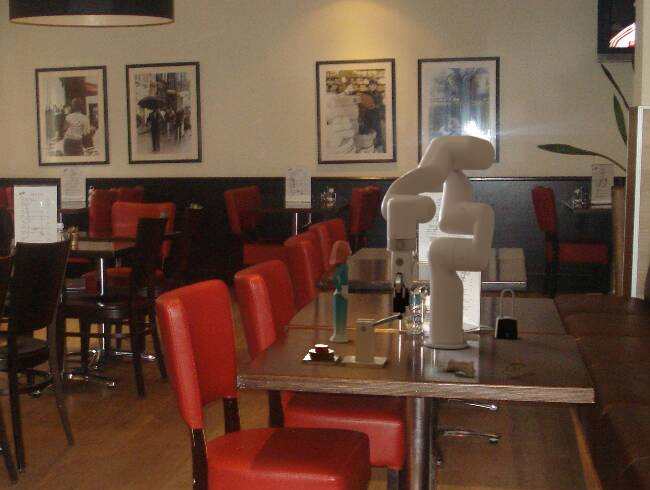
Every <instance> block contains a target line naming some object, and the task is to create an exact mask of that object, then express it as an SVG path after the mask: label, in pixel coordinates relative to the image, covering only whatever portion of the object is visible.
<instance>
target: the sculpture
mask: <svg viewBox="0 0 650 490" xmlns="http://www.w3.org/2000/svg"><path fill="white" fill-rule="evenodd" d="M352 253H353V251H352V250H351V247H350V243H349V242H347V241H344V240H337V241H335V242H334V243H333V245H332V248H331V254H330V258H329V262H328V264H329V265H330V266H332V267H333V268H337V270H336V272H335V273H334V274H333V276H332V279H333V283H334V286H335V291H334V292H333V294H332V309H333V310H332V317H333V318H332V319H333V326H332V327H333V333H332V335H331V337H330V338H329V339H328V340H329V341H330V342H332V343H348V342H349V341H350V340H349V338H348V335H347V327H348V310H349V309H348V307H349V265H348V264H347V263H345V261H346V260H347V259H352Z"/></svg>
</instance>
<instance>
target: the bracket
mask: <svg viewBox="0 0 650 490" xmlns="http://www.w3.org/2000/svg"><path fill="white" fill-rule="evenodd" d="M375 320H376V319H374V318H357V320H356V321H355V326H354V328H355V329H354V330H355V332H354V333H355V334H354V337H355V338H354V355H345V357H344V358H343V359H342V360H341V364H351V365H368V366H369V365H370V366H385V364H386V363H387V362H386V361H388V357H382V356H380V357H379V356H375V327H376V326H374V327H373V322H376V321H375ZM368 321H369V322H368Z"/></svg>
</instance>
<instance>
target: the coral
mask: <svg viewBox="0 0 650 490" xmlns="http://www.w3.org/2000/svg"><path fill="white" fill-rule="evenodd" d="M434 365H435V367H436V370H437V371H439V372H441V373H446V372H447V373H448V372H451V371H452V372H455V373H460V372H461V373H462V374H465V375H466V376H468V378H472V377H474V376H475V374H476V372H477V370H476V369H475V362H474V360H468V361H465V360H464V361H463V360H460V361H459V360H455V359H453V358H448V361H447V363H445V362H442V361H441V360H438V359H436V360H435V362H434Z"/></svg>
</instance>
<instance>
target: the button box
mask: <svg viewBox="0 0 650 490" xmlns="http://www.w3.org/2000/svg"><path fill="white" fill-rule="evenodd" d="M308 351H309V352H308V354H306V356H304V357H303V358H302V362H320V363H321V362H322V363H337V362H338V361H339V359H340V358H341V357H342V356H341V355H339V354H335V350H333V349H330V348H329V352H315V348H312V349H310V350H308Z"/></svg>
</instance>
